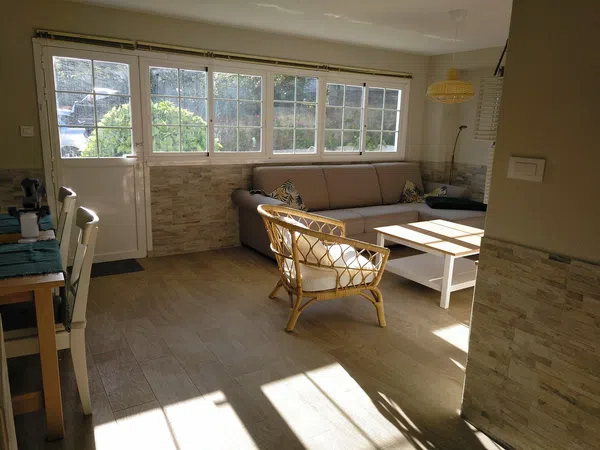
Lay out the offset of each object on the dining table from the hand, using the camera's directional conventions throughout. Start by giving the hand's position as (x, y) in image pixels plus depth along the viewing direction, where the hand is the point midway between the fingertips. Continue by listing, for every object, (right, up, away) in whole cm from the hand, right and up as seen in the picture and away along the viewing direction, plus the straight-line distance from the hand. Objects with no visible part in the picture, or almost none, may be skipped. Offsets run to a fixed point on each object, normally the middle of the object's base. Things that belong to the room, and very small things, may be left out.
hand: (29, 224), depth 230 cm
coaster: (+3, -8, -6) cm, 11 cm away
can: (-1, -6, +3) cm, 7 cm away
